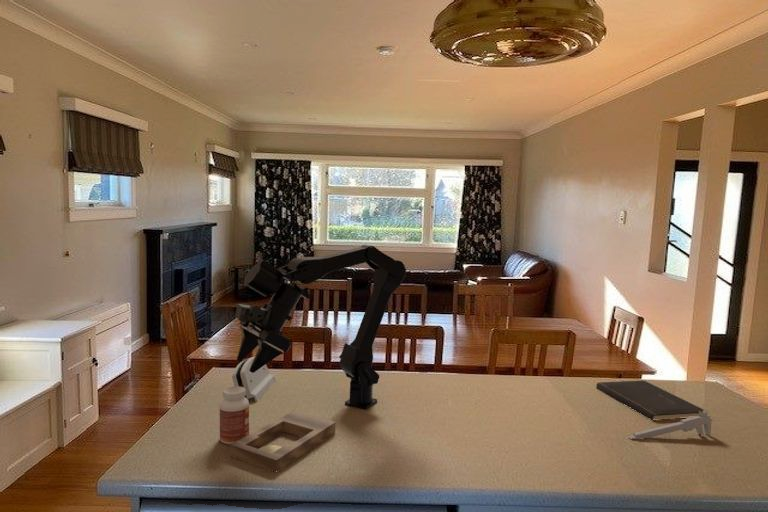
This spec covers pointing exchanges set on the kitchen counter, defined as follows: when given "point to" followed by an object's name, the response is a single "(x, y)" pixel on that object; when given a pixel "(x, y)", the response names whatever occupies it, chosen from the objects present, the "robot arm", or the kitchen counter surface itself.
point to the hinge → (253, 379)
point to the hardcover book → (649, 399)
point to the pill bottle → (234, 415)
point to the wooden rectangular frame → (277, 456)
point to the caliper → (679, 427)
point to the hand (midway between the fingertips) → (244, 366)
